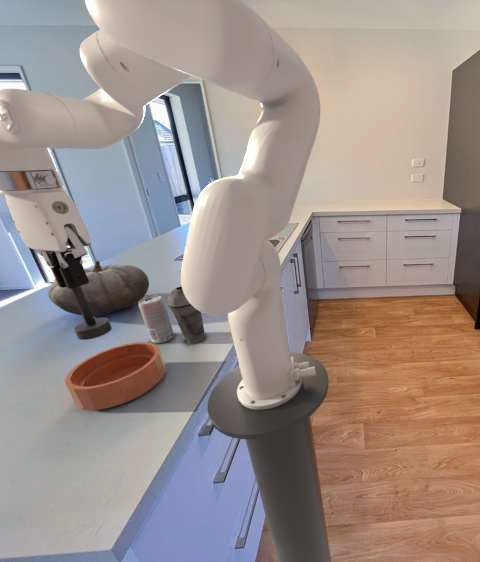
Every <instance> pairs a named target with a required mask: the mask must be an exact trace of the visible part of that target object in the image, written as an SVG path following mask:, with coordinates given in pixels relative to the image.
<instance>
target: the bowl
mask: <svg viewBox="0 0 480 562" xmlns="http://www.w3.org/2000/svg"><path fill="white" fill-rule="evenodd" d="M166 368H167V365H166V363H165V360H164V358H163V354H162V353H161V349H160V347H159V346H158V345H157V343H154V342H149V341H136V342H129V343H125V344H121V345H117V346H114V347H111V348H108V349H105V350H103V351H99V352H98V353H95V354H94V355H92V356H90V357H88V358H85V360H83V361H81V362H80V363H78V364H77V365H76V366H74V368H72V369H71V370H70V371H69V372H68V373H67V375H66V377H65V379H64V383H65V386H66V387H67V390H68V392H69V394H70V396H71V397H72V399H73V401H74V403H75V405H76V406H77V407H78V408H79V409H82V410H85V411H86V410H87V411H100V410H104V409H110V408H114V407H117V406H122V405H123V404H126V403H128V402H129V403H130V402H131V401H133V400H135V399H137V398H139V397H141V396H142V395H144V394H146V393H147V392H148V391H150V390H151V389H152V388H154V387H155V386H156V385H157V384H159V382H160V381H161V380H162V379H163V378H164V376H165V374H166V373H167V370H166Z"/></svg>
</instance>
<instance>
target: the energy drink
mask: <svg viewBox="0 0 480 562" xmlns="http://www.w3.org/2000/svg"><path fill="white" fill-rule="evenodd" d="M138 308H139V310H140V314H141V316H142V319H143V322H144V324H145V327H146V330H147V332H148V335H149V339H150V341H151V343H153V344H163V343H166V342H168V341H170V340H171V339H173V338H174V336H175V331H174V329H173V326H172V323H171V319H170V316H169V313H168V311H167V308H166V305H165V301H164V299H163V298H162V296H161V295H151V296H147V297H143V298H142V299H141V300H140V301H139V302H138Z"/></svg>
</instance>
